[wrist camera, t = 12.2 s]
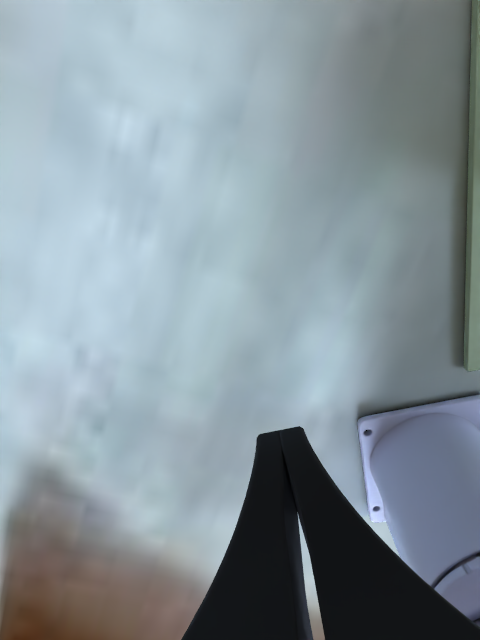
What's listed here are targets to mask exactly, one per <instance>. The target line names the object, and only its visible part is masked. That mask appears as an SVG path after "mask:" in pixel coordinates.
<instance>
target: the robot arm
mask: <svg viewBox="0 0 480 640" xmlns="http://www.w3.org/2000/svg"><path fill="white" fill-rule="evenodd" d="M357 426H358V434H359V442H360V449H361V457H362V465H363V473H364V481H365V489H366V497H367V505H368V513H369V517H370V520H371V521H372V522H375V523H377V522H384V521H386V522H387V525H388V527H389V530H390V533H391V535H392V538H393V540H394V543H395V545H396V548H397V551H398V553H399V556H400V557H399V556H398V555H397V554H396V553H394V552H393V551H392V550H391V549H390V548H389V547H388V545H387V544H386V543H385V542H384V541H383V540H382V539H381V538H380V537H379V536H378V535H377V534H376V533H375V532H374V531H373V530H372V528H371V527H370V526H369V525H368V524H367V523H366V522H365V521H364V519H363V518H362V517H361V516H360V515H359V514H358V512H357V511H356V510H355V509H354V508H353V506H352V505H351V504H350V503H349V501H348V500H347V499H346V497H345V496H344V495H343V494H342V492H341V491H340V490H339V488H338V487H337V486H336V484H335V483H334V481H333V480H332V479H331V477H330V476H329V474H328V473H327V471H326V470H325V468H324V467H323V465H322V464H321V462H320V461H319V459H318V457H317V456H316V454H315V452H314V451H313V449H312V447H311V445H310V443H309V441H308V439H307V437H306V434H305V432H304V429H303V428H301V427H300V426H299V427H294V428H289V429H284V430H279V431H273V432H268V433H263V434H260V435H259V436H258V437H257V445H256V453H255V459H254V464H253V469H252V474H251V478H250V482H249V486H248V490H247V493H246V497H245V500H244V504H243V507H242V510H241V513H240V516H239V519H238V522H237V525H236V528H235V531H234V533H233V536H232V539H231V541H230V544H229V546H228V549H227V551H226V553H225V556H224V558H223V560H222V563H221V565H220V567H219V569H218V571H217V573H216V576H215V578H214V580H213V582H212V584H211V586H210V588H209V590H208V592H207V594H206V596H205V598H204V600H203V602H202V604H201V605H200V607H199V609H198V611H197V613H196V614H195V616H194V618H193V620H192V622H191V624H190V625H189V627H188V629H187V631H186V633H185V634H184V636H183V638H182V639H181V640H313V636H312V630H311V625H310V619H309V613H308V608H307V600H306V593H305V584H304V574H303V564H302V554H301V544H300V534H299V524H298V515H299V519H300V522H301V526H302V529H303V533H304V536H305V540H306V543H307V547H308V550H309V554H310V558H311V564H312V569H313V575H314V580H315V585H316V591H317V596H318V602H319V607H320V613H321V618H322V624H323V630H324V635H325V640H480V395H475V396H469V397H464V398H459V399H454V400H448V401H443V402H438V403H433V404H427V405H422V406H417V407H412V408H406V409H401V410H396V411H391V412H385V413H380V414H375V415H370V416H364V417H362V418H360V419H359V420H358V423H357ZM367 429H369V430H368V431H365V430H367ZM297 512H298V514H297Z"/></svg>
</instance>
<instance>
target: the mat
mask: <svg viewBox="0 0 480 640" xmlns="http://www.w3.org/2000/svg"><path fill="white" fill-rule="evenodd" d="M464 369H465V370H466V371H467V372H471V371H476V370H480V0H472V19H471V63H470V107H469V151H468V195H467V238H466V282H465V326H464Z"/></svg>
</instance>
